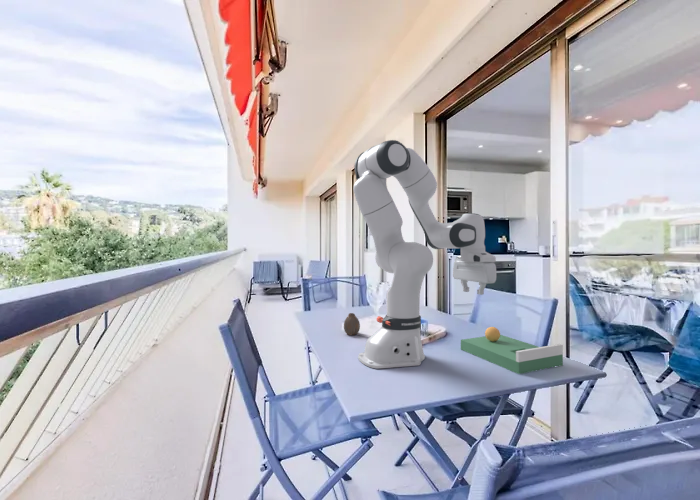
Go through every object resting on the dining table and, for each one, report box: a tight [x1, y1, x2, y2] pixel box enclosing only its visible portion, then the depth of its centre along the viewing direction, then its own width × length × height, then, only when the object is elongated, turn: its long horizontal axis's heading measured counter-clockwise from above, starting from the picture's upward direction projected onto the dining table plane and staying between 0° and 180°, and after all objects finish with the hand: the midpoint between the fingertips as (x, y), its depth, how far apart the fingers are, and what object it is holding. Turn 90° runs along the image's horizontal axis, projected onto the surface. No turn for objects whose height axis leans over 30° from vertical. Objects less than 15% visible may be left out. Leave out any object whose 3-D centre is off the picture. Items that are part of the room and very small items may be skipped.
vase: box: [343, 312, 361, 336], centre depth 152 cm, size 7×7×9 cm
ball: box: [484, 326, 501, 341], centre depth 126 cm, size 5×5×5 cm
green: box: [460, 334, 564, 375], centre depth 120 cm, size 18×26×6 cm
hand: (473, 293), depth 135 cm, fingers open, 6 cm apart
